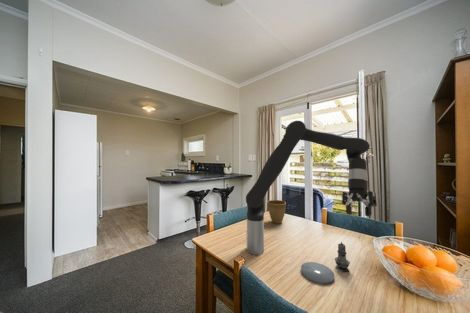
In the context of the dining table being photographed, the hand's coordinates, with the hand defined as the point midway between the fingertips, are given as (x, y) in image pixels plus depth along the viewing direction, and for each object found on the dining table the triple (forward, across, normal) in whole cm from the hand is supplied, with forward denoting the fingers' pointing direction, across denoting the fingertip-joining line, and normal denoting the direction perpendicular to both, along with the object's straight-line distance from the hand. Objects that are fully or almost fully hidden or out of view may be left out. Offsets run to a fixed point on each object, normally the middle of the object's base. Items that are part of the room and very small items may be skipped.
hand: (358, 215), depth 77 cm
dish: (+27, -10, -12) cm, 31 cm away
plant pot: (+11, -69, +3) cm, 70 cm away
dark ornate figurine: (+24, -8, +1) cm, 26 cm away
